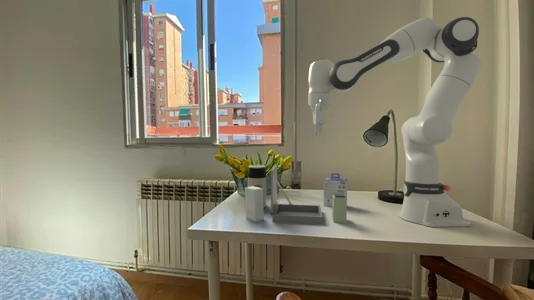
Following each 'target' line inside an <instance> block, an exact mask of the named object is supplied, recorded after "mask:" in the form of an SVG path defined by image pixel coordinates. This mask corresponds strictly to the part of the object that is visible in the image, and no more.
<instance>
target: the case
mask: <svg viewBox="0 0 534 300" xmlns="http://www.w3.org/2000/svg"><path fill="white" fill-rule="evenodd" d="M278 188H279V189H280V191H281V192H282V194H283V195H284V197H285V198H286V200H287V202H288V204H287V203H279V202H278ZM270 216H272V223H285V224H286V223H288V224H289V223H290V224H309V225H324V224H323V221H324V217H323V212H322V208H321V205H319V204H318V205H317V204H294V203H293V202H292V201H291V200H290V199H289V197H288V195H287V194H286V192H285V190H284V189H283V188H282V185H280V183H279V181H278V165H277V164H276V165H274V167H272V169H271V170H270Z"/></svg>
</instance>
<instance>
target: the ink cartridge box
mask: <svg viewBox="0 0 534 300" xmlns="http://www.w3.org/2000/svg"><path fill="white" fill-rule="evenodd" d="M340 175H341V174H340V173H336V172H335V173H333V172H332V173H331V175H330V177H326V178H325V177H324V179H323V207H332V198H333V195H334V194H344V195H345V196H346V197H348V181H347V178H341V176H340Z"/></svg>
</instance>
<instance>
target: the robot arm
mask: <svg viewBox="0 0 534 300" xmlns="http://www.w3.org/2000/svg"><path fill="white" fill-rule="evenodd" d="M479 35H480V27H479V24H478V22H477V20H475V19H473V18H472V17H469V16H468V17H467V16H462V17H458V18H457V17H456V18H455V19H454V20H453V19H452V20H450V21H449V22H448V23H447V24H446V25H445V26H443V27H441V26H439V25H438V24H437V22H436V21H435V20H434V19H433V18H431V17H421V18H419V19H417V20H414V21H412V22H409V23H407V24H405V25H404V26H402V27H400V28H398V29H397V30H395V31H394V32H392V33H390V34H389V35H388V36H387V37H385V39H384V40H381V42H380V43H379V44H377V45H376V46H374V47H372V48H371V49H369V50H367V51H365V52H364V53H362V54H360V55H358V56H356V57H354V58H350V59H349V58H348V59H343V60H340V61H338V62H336V63H334V62H332V61H331V60H330V59H329V58H321V59H317V60H315V61H313V62H311V64H310V65H309V70H308V88H309V90H308V97H307V98H308V99H307V104H308V107H310V108H311V109H310V110H311V111H312V123H313V125H314V126H315V136H317V137H322V136H323V129H324V128H323V127H324V124H326V119H327V118H326V117H327V115H326V114H327V113H326V111H327V110H328V107H330V106H331V103H332V101H331V100H332V95H331V94H332V92H333V93H338V94H346V93H348V92H349V91H351V89H353V87H354V86H355V84H356V83H357V82H358V80H359V79H360V78H361V77H362V76H363V75H365V74H366V73H368V72H370V71H371V70H373V69H375V68H376V67H379V66H380V65H382V64H384V63H389V64H397V63H400V62H403V61H405V60H407V59H409V58H411V57H413V56H415V55H416V54H418V53H419V52H421V51H422V52H423V53H424V54H425V55H426V56H427V57H428V58H429V59H430V60H431V61H432V62H434V63H438V64H439V63H444V65H443V68H442V70H441V71H440V73H439V75H438V76H437V78H436V80H435V81H434V83H433V84H432V86H431V88H429V91H428V92H427V94H426V96H425V102H424V104H423V107H422V109H421V111H420V113H419V114H417V115H416V116H411V117H410V118H408V119H407V120H406V121H405V122H404V123H402V126H401V128H400V131H401V136H402V139H403V149H404V154H405V180H404V181H403V195H404V197H403V201H402V206H401V211H400V213H399V218H401V219H402V220H405V221H407V222H411V223H415V224H420V225H423V226H427V227H431V228H443V227H444V228H445V227H448V228H449V227H471V221H470V220H468V219H467V218H465V217H464V214H463V210H462V206H461V205H460V204H459V203H457V201H455V200H454V199H452V198H451V197H449V195H448V194H446V193H445V191H446V192H449V191H450V190H452V188H451V186H450V185H447V184H443V183H441V182H440V173H441V160H440V158H439V157H438V154H437V150H436V145H439V144H442V143H444V142H446V141H447V140H448V139H449V138H450V137H451V135H452V133H453V122H454V119H455V116H456V113H457V111H458V110H459V107H460V105H461V104H462V102H463V100H464V99H465V97H466V96H467V95H468V92H469V91H470V90H471V88H472V86H473V85H474V83H475V81H476V79H477V77H478V75H479V73H480V70H481V68H482V60H481V58H480V56H478V55H477V54H475V53H473V52H474V51H475V50H476V49H477V48H478V39H479Z"/></svg>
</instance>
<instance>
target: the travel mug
mask: <svg viewBox="0 0 534 300" xmlns="http://www.w3.org/2000/svg"><path fill="white" fill-rule="evenodd" d="M248 168H249V169H248V172H247V187H251V186H254V187H259V188H263V208H266V207H267V172H266V165H263V164H253V165H252V164H251V165H248Z"/></svg>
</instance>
